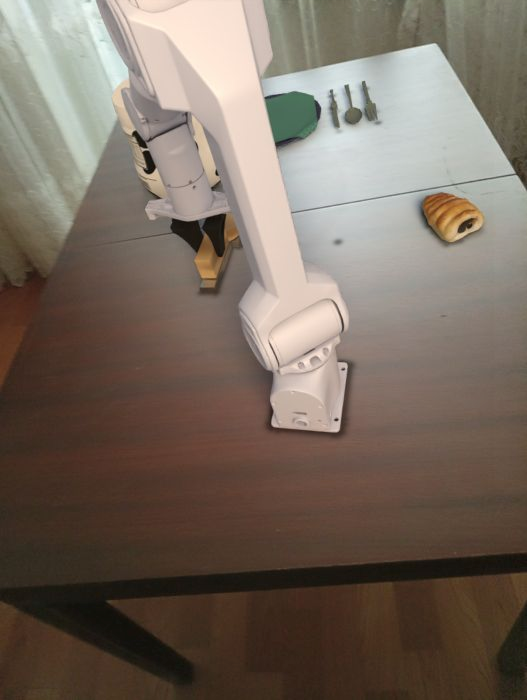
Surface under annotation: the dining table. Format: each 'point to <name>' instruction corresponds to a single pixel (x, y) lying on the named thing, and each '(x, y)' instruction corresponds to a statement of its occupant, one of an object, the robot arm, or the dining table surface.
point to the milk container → (142, 153)
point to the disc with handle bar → (206, 254)
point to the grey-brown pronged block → (213, 283)
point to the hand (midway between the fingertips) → (212, 252)
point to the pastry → (451, 216)
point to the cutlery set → (307, 114)
